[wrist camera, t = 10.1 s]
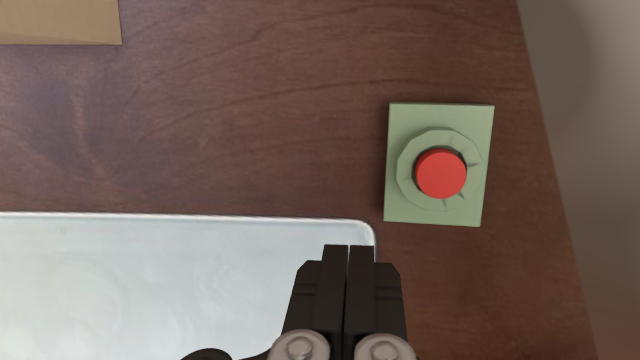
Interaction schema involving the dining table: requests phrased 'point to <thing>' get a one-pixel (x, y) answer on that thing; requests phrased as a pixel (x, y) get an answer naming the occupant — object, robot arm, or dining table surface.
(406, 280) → the dining table surface
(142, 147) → the dining table surface
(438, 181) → the button
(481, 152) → the control block
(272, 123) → the dining table surface
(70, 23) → the cabinet
